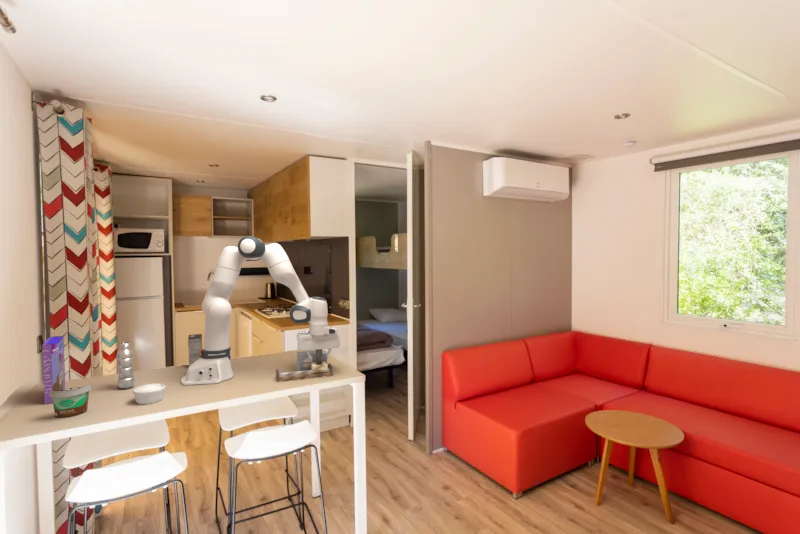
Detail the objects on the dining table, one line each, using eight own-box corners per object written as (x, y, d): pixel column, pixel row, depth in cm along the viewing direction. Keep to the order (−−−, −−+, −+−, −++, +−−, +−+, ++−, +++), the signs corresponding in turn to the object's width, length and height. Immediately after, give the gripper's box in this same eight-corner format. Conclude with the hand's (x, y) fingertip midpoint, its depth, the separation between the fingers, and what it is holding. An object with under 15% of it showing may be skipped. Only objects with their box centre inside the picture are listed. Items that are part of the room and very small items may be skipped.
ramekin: (169, 400, 165) (168, 387, 165) (137, 408, 158) (136, 394, 157) (161, 393, 173) (161, 381, 173) (130, 400, 166) (130, 387, 165)
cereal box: (60, 402, 164) (58, 343, 163) (44, 404, 161) (42, 344, 160) (65, 389, 178) (63, 335, 177) (51, 391, 175) (49, 336, 174)
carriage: (312, 373, 194) (312, 351, 194) (310, 370, 200) (310, 348, 199) (327, 372, 197) (327, 350, 196) (325, 369, 202) (324, 347, 202)
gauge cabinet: (299, 374, 200) (298, 356, 199) (296, 369, 208) (296, 352, 207) (327, 371, 205) (327, 353, 204) (324, 366, 213) (324, 349, 212)
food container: (48, 422, 144) (47, 394, 144) (50, 416, 149) (48, 389, 149) (91, 414, 152) (90, 387, 151) (92, 408, 157) (91, 383, 156)
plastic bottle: (138, 385, 183) (137, 341, 182) (125, 391, 176) (123, 345, 176) (127, 384, 185) (126, 341, 184) (113, 389, 178) (112, 344, 177)
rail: (276, 382, 188) (276, 372, 188) (275, 377, 195) (275, 368, 194) (332, 375, 197) (332, 366, 197) (329, 371, 204) (329, 362, 204)
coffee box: (189, 364, 217) (188, 334, 217) (202, 363, 220) (202, 333, 219) (188, 368, 209) (188, 338, 208) (202, 367, 212) (201, 336, 211)
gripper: (297, 332, 191) (298, 362, 192) (340, 329, 198) (340, 357, 199) (296, 330, 197) (296, 358, 197) (337, 327, 204) (338, 354, 205)
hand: (319, 358), depth 198 cm, fingers open, 7 cm apart
